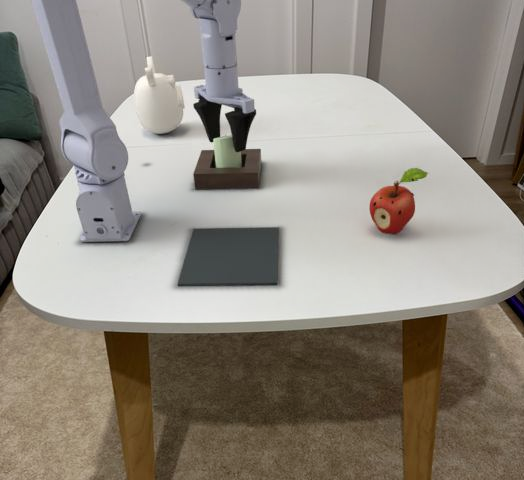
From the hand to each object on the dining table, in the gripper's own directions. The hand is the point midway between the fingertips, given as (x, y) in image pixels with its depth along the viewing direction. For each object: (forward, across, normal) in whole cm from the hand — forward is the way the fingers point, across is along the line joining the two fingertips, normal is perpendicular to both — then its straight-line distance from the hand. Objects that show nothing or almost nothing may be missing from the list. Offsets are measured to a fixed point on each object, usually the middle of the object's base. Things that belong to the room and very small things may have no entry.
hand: (227, 145), depth 96 cm
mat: (+6, -23, +19) cm, 31 cm away
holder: (+6, 0, 0) cm, 6 cm away
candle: (+6, 0, 0) cm, 6 cm away
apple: (+6, -36, -4) cm, 37 cm away
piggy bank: (+6, +32, -6) cm, 33 cm away
